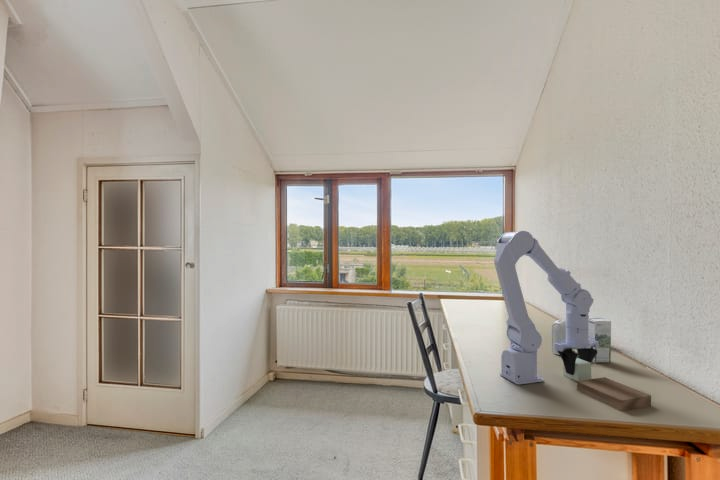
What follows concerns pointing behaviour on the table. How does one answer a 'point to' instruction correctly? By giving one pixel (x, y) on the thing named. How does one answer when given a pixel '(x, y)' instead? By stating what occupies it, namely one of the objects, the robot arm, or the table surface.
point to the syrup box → (600, 338)
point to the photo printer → (558, 333)
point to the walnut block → (614, 393)
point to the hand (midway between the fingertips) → (577, 372)
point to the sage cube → (580, 370)
